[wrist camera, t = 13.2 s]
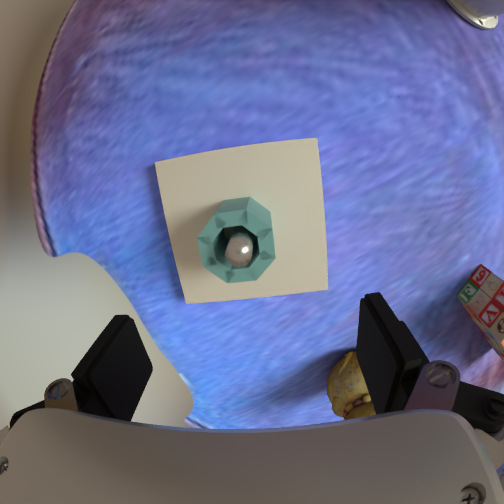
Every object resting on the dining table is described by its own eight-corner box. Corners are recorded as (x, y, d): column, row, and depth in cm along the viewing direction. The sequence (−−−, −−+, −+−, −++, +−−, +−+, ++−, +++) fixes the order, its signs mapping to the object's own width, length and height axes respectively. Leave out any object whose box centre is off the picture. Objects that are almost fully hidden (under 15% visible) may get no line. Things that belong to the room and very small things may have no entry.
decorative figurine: (340, 391, 39) (358, 471, 25) (308, 367, 37) (322, 457, 23) (391, 357, 36) (426, 434, 22) (364, 328, 34) (403, 414, 20)
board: (161, 161, 28) (119, 168, 19) (313, 138, 27) (336, 133, 18) (190, 295, 33) (167, 344, 25) (324, 281, 32) (344, 329, 23)
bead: (207, 202, 27) (192, 216, 22) (268, 194, 27) (269, 206, 21) (217, 259, 29) (207, 285, 24) (275, 252, 29) (278, 278, 23)
